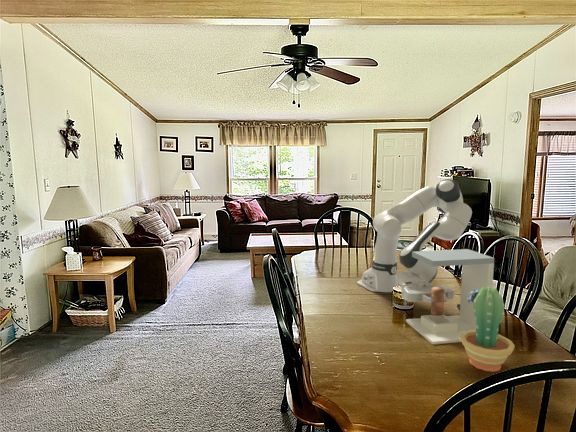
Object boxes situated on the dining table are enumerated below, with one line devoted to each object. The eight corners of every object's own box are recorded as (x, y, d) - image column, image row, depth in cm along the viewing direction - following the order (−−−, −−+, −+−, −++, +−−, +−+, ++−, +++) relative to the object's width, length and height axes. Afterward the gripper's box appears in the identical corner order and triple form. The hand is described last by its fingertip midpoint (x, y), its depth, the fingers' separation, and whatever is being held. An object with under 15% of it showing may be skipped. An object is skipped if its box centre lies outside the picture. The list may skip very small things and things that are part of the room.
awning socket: (405, 321, 151) (408, 249, 147) (459, 317, 155) (463, 247, 151) (432, 344, 132) (436, 262, 128) (492, 339, 135) (498, 259, 132)
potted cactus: (494, 351, 126) (499, 280, 123) (524, 376, 111) (531, 296, 108) (450, 352, 126) (453, 281, 123) (474, 378, 111) (479, 297, 107)
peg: (430, 314, 145) (430, 289, 143) (431, 310, 149) (432, 286, 147) (442, 316, 143) (443, 291, 141) (444, 312, 146) (444, 288, 145)
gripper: (442, 294, 160) (462, 306, 146) (398, 298, 156) (414, 310, 143) (443, 280, 159) (463, 290, 145) (398, 283, 156) (415, 294, 142)
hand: (438, 300), depth 144 cm, fingers closed on peg, 4 cm apart
